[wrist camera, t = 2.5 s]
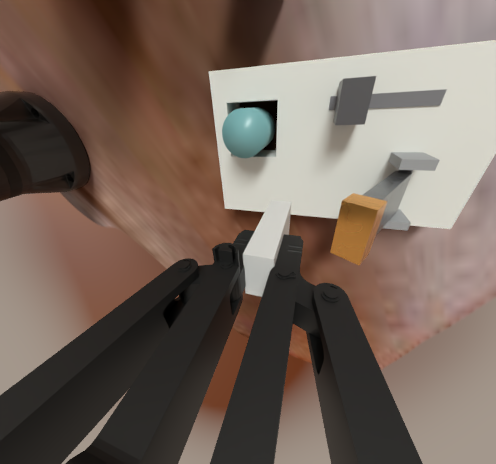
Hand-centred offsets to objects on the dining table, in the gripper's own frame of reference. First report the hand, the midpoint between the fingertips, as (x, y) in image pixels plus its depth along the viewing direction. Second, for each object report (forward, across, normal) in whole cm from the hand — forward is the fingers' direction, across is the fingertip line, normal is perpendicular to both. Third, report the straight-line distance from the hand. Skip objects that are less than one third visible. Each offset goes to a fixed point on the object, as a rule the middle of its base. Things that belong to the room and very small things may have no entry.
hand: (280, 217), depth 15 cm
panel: (+12, +4, +3) cm, 13 cm away
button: (+10, -4, +5) cm, 12 cm away
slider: (+8, +4, +7) cm, 12 cm away
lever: (+7, +10, 0) cm, 12 cm away
